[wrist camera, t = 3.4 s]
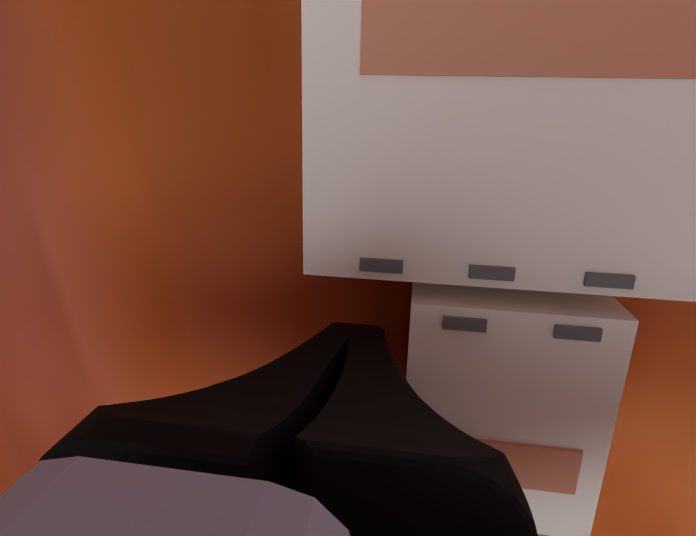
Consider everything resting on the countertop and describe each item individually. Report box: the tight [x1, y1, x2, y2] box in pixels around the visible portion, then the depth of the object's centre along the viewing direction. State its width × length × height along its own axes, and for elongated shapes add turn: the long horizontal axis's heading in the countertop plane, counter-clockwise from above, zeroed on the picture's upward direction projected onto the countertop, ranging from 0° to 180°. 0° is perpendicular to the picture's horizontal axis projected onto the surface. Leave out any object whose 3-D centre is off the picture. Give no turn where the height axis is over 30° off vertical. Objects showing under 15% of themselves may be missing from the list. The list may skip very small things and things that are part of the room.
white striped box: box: [301, 0, 696, 302], centre depth 9 cm, size 13×6×3 cm, turn 89°
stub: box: [406, 282, 639, 536], centre depth 11 cm, size 4×5×3 cm
